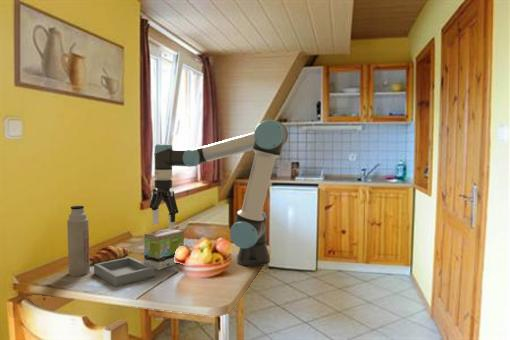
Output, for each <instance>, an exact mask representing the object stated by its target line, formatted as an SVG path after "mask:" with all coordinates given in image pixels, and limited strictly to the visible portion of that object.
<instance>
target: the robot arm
mask: <svg viewBox="0 0 510 340" xmlns="http://www.w3.org/2000/svg"><path fill="white" fill-rule="evenodd" d="M288 137H289V132H288V128H287V127H286V126H285V124H283V123H282V122H280V121H278V120H274V119H266V120H263V121H261V122H259V123H258V124H257V125H256V127H255V129H254V132H251V133H247V134H244V135H239V136H236V137H232V138H228V139H224V140H222V141H218V142H214V143H211V144H208V145H203V146H200V147H195V148H173V145H172V144H171V143H170V144H169V143H167V144H166V143H164V144H163V143H158V144H157V143H156V144H155V146H154V172H153V173H154V178H155V179H154V188H153V189H152V195H151V200H150V202H149V209H151V210H152V225H154V226H155V225H160V223H159V222H160V221H159V220H160V212H159V211H160V210H159V209H160V208H159V206H160V205H161V203H162V201H163V202H164V203H165V205H166V208H167V211H168V214H167V215H168V229H169V230H171V229H175V230H176V215H177V214H179V209H178V205H177V202H176V197H175V191H174V190H172V191H171V190H170V189H171V188H173V180H172V178H173V167H188V168H190V167H197V166H199V165H203V164H205V163H209V162H212V161H215V160H219V159H224V158H228V157H232V156H235V155H238V154H243V153H246V152H250V151H253V152H254V158H253V161H252V166H251V170H250V174H249V178H248V182H247V186H246V190H245V193H244V197H243V202H242V206H241V209H239V210H238V211H236V215H235V220H234V223H233V224H232V225H231V227H230V230H229V238H230V240H231V242H232V244H234V245H235V246H236V247H238V248H239V249H238V254H237V256H236V262H237V264H239V265H243V266H249V267H258V266H265V265H268V264H270V262H271V256H270V254H269V250H268V249H269V248H268V246H267V213H266V212H265V211H263V208H264V206H265V201H266V198H267V197H266V196H267V193H268V191H269V190H268V189H269V186H270V181H271V177H272V173H273V170H274V166H275V161H276V159H277V158H279V157H280V156H281V153H282V148H283V146H284V145H285V144H286V142H287V140H288V139H289V138H288Z"/></svg>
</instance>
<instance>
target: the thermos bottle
mask: <svg viewBox="0 0 510 340" xmlns="http://www.w3.org/2000/svg"><path fill="white" fill-rule="evenodd" d="M84 207H85V206H84V205H72V206H70V209H71V210H70V211H71V212H70V214H69V215H68V220H67V221H66V224H67V225H66V226H67V229H66V230H67V252H68V253H67V255H68V257H67V258H68V259H67V260H68V262H67V263H68V264H67V265H68V275H69V276H72V277H76V276H77V277H80V276H84V275H87V274H89V273H90V270H91V269H90V265H91V264H90V231H89V230H90V229H89V227H90V226H89V219H88V218H87V213H86V212H85V208H84Z"/></svg>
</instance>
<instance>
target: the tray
mask: <svg viewBox="0 0 510 340" xmlns="http://www.w3.org/2000/svg"><path fill="white" fill-rule="evenodd" d="M155 271H156V269H155V268H154V267H152V266H150V265H148V264H146V263H144V261H140V259H139V260H138V259H137V258H134V257H131V256H129V257H128V256H126V257H121V258H120V259H117V260H112V261H107V262H102V263H94V264H93V274H94V275H95V274H96V275H95V276H98V277H99V278H100V277H101V278H100V279H102V278H103V279H102V280H103V281H105V280H106V282H107V281H108V282H107V283H109V284H110V283H111V285H112V286H113V287H115V286H116V288H118V287H117V286H119V287H122V286H121V285H123V286H127V285H130V284H134V283H137V282H141V281H146V280H148V279H153V278H155V277H156V276H155V274H156V273H155ZM126 284H127V285H126Z"/></svg>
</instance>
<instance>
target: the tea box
mask: <svg viewBox="0 0 510 340" xmlns="http://www.w3.org/2000/svg"><path fill="white" fill-rule="evenodd" d="M143 242H144V244H143V248H144V250H143V251H144V252H143V256H144V261H143V263H146V264H148V265H150V266H152V267H154V268H155V270H157V271H160V270H163V269H165V268H168V267H169V268H170V267H171V266H175V265H176V264H175V262H174V255H175V251H176V249H177V248H178V247H179V246H184V244H185V243H184V242H185V231H184V230H180V229H176V228H175V229H171V230H169V228H165V229H160V230H155V231H152V232H151V231H150V232H147V233H144V241H143Z"/></svg>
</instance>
